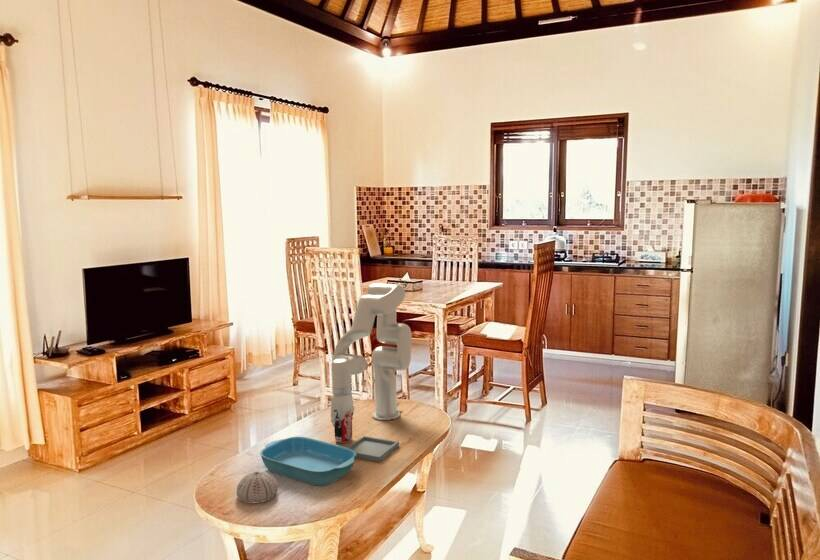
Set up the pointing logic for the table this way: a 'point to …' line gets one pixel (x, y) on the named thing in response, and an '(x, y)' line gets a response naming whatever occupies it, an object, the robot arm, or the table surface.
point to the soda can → (345, 429)
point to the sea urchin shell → (257, 487)
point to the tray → (373, 448)
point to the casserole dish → (308, 460)
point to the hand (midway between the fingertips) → (343, 432)
